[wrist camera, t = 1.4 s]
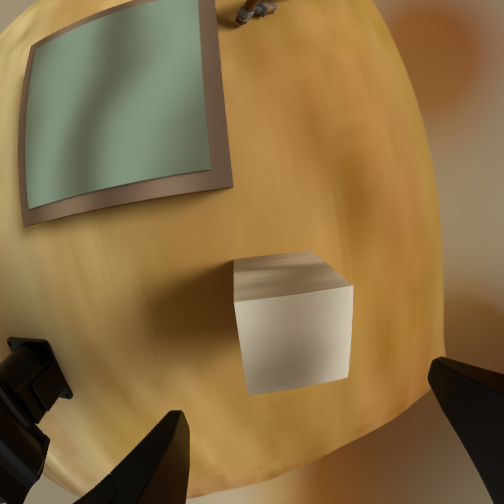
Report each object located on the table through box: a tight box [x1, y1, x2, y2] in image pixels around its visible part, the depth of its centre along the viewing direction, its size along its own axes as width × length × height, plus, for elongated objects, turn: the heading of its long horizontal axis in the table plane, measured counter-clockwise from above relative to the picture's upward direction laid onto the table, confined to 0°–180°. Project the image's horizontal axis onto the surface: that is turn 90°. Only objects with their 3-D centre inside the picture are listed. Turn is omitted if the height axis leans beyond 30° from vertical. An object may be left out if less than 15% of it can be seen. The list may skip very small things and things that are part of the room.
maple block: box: [234, 250, 353, 395], centre depth 15 cm, size 5×5×7 cm
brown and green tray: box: [18, 0, 233, 227], centre depth 13 cm, size 14×14×3 cm
